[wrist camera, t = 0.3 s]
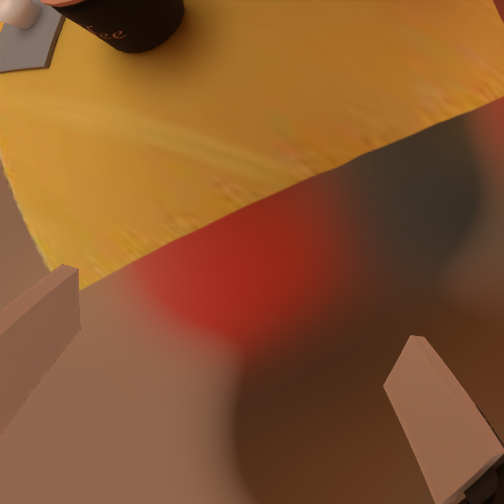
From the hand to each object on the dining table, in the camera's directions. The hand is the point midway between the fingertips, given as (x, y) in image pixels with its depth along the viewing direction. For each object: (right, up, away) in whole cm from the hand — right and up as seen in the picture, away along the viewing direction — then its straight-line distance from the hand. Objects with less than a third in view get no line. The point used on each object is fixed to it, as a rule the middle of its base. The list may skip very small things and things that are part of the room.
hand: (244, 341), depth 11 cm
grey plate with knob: (-33, +39, +16) cm, 54 cm away
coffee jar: (-13, +33, +18) cm, 40 cm away
